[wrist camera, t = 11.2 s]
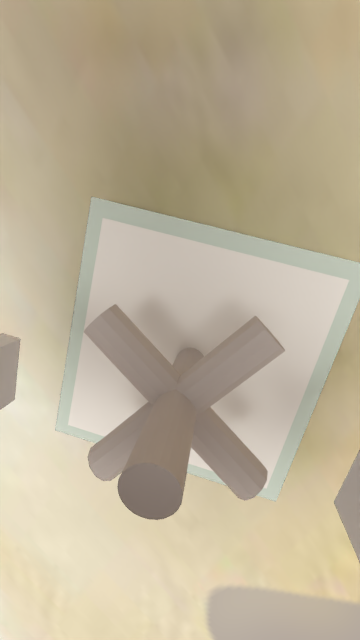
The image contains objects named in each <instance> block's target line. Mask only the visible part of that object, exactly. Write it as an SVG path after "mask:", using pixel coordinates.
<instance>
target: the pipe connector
mask: <svg viewBox="0 0 360 640" xmlns="http://www.w3.org/2000/svg"><path fill="white" fill-rule="evenodd" d="M84 333H85V334H86V335H87V336H88V337H89V338H90V339H91V340H92V342H93V343H94V344H95V345H96V346H97V347H98V348H99V349H100V350H101V351H102V352H103V353H104V354H105V355H106V357H107V358H108V359H109V360H110V361H111V362H112V363H113V364H114V365H115V366H116V367H117V368H118V369H119V370H120V372H121V373H122V374H123V375H124V376H125V377H126V378H127V379H128V380H129V381H130V382H131V383H132V384H133V385H134V387H135V388H136V389H137V390H138V391H139V392H140V393H141V394H142V395H143V396H144V397H145V398H146V399H147V400H148V402H147V403H146V404H145V405H144V406H142V407H141V408H140V409H139V410H137V411H136V412H135V413H134V414H132V415H131V416H130V417H129V418H127V419H126V420H125V421H124V422H122V423H121V424H120V425H119V426H118V427H116V428H115V429H114V430H113V431H111V432H110V433H109V434H108V435H106V436H105V437H104V438H103V439H101V440H100V441H99V442H98V443H96V444H95V445H94V446H93V447H91V448H90V451H89V454H88V461H89V467H90V469H91V470H92V472H93V473H94V475H95V476H96V477H98V478H99V479H101V480H103V481H110V480H112V479H113V478H115V477H116V476H117V475H119V474H120V473H122V474H121V476H120V478H119V481H118V493H119V496H120V498H121V500H122V502H123V503H124V505H125V506H126V507H127V508H128V509H129V510H130V511H132V512H133V513H134V514H136V515H138V516H140V517H143V518H147V519H155V520H158V519H164V518H167V517H169V516H171V515H173V514H174V513H175V512H176V511H177V510H178V508H179V507H180V505H181V502H182V497H183V491H184V485H185V479H186V474H187V468H188V462H189V456H190V450H191V448H192V449H193V450H194V451H195V452H196V453H197V454H198V455H199V456H200V457H201V458H202V459H203V460H204V462H205V463H206V464H207V465H208V466H209V467H210V468H211V469H212V470H213V471H214V472H215V473H216V474H217V475H218V477H219V478H220V479H221V480H222V481H223V482H224V483H225V484H226V485H227V486H228V487H229V488H230V489H231V490H232V492H233V493H234V494H235V495H236V496H237V497H238V498H240V499H242V500H248V499H251V498H254V497H255V496H256V495H257V494H258V493H259V492H260V491H261V490H262V489H263V487H264V485H265V483H266V481H267V473H268V471H267V470H266V468H265V466H264V465H263V464H262V463H261V462H260V461H259V459H258V458H257V457H256V456H255V455H254V454H253V453H252V452H251V451H250V450H249V449H248V447H247V446H246V445H245V444H244V443H243V442H242V441H241V440H240V439H239V438H238V437H237V435H236V434H235V433H234V432H233V431H232V430H231V429H230V428H229V427H228V426H227V425H226V423H225V422H224V421H223V420H222V419H221V418H220V417H219V416H218V415H217V414H216V413H215V411H214V410H213V409H212V408H211V406H212V405H213V404H215V403H216V402H217V401H219V400H220V399H221V398H223V397H224V396H225V395H227V394H228V393H229V392H231V391H232V390H233V389H235V388H236V387H237V386H239V385H240V384H242V383H243V382H244V381H246V380H247V379H248V378H250V377H251V376H252V375H254V374H255V373H256V372H258V371H259V370H260V369H262V368H263V367H264V366H266V365H267V364H268V363H270V362H271V361H273V360H274V359H275V358H277V357H278V356H279V355H281V354H282V353H283V352H285V349H284V348H283V346H282V345H281V344H280V343H279V341H278V340H277V339H276V338H275V336H274V335H273V334H272V333H271V332H270V331H269V329H268V328H267V327H266V326H265V325H264V324H263V323H262V322H261V321H260V319H259V318H258V317H257V316H254V317H253V318H252V319H250V320H249V321H248V322H247V323H245V324H244V325H243V326H242V327H240V328H239V329H238V330H237V331H235V332H234V333H233V334H232V335H230V336H229V337H228V338H227V339H226V340H224V341H223V342H222V343H221V344H219V345H218V346H217V347H216V348H214V349H213V350H212V351H211V352H209V353H208V354H207V355H206V356H203V354H202V353H201V352H200V351H199V350H197V349H195V348H185V349H183V350H181V351H180V352H179V353H178V355H177V357H176V359H175V361H174V363H173V365H171V363H170V362H169V361H168V360H167V359H166V358H165V357H164V356H163V355H162V354H161V353H160V351H159V350H158V349H157V348H156V347H155V346H154V345H153V344H152V343H151V342H150V341H149V339H148V338H147V337H146V336H145V335H144V334H143V333H142V332H141V331H140V330H139V329H138V327H137V326H136V325H135V324H134V323H133V322H132V321H131V320H130V319H129V318H128V317H127V315H126V314H125V313H124V312H123V311H122V310H121V309H120V308H119V307H118V306H117V305H116V304H114V305H113V306H111V307H109V308H108V309H107V310H105V311H104V312H103V313H102V314H100V315H99V316H98V317H97V318H96V319H95V320H94V321H92V322H91V323H90V324H89V325H88V327H87V328H86V329H85V330H84Z"/></svg>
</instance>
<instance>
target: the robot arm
mask: <svg viewBox="0 0 360 640" xmlns="http://www.w3.org/2000/svg"><path fill="white" fill-rule="evenodd" d="M19 348H20V338H17V337H13V336H10V335H7V334H3V333H2V334H0V410H1V409H2V408H4V407H5V406H6V405H8V404H9V403H11V402H12V401H13V400H15V390H16V380H17V369H18V359H19ZM334 504H335V506H336V509H337V511H338V513H339V516H340V518H341V520H342V523H343V525H344V527H345V530H346V532H347V534H348V537H349V539H350V541H351V544H352V546H353V548H354V551H355V553H356V555H357V557H358V560H359V562H360V450H359V452H358V454H357V456H356V458H355V460H354V462H353V464H352V466H351V468H350V470H349V472H348V474H347V476H346V478H345V480H344V482H343V484H342V486H341V488H340V490H339V492H338V494H337V496H336V498H335V500H334Z"/></svg>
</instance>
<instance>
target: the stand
mask: <svg viewBox="0 0 360 640" xmlns="http://www.w3.org/2000/svg"><path fill="white" fill-rule="evenodd" d="M359 299H360V263H359V262H355V261H351V260H346V259H342V258H338V257H334V256H330V255H326V254H322V253H318V252H314V251H310V250H306V249H302V248H298V247H294V246H290V245H286V244H282V243H278V242H274V241H270V240H266V239H261V238H257V237H253V236H249V235H245V234H241V233H237V232H233V231H229V230H225V229H221V228H217V227H213V226H209V225H205V224H201V223H197V222H193V221H189V220H185V219H181V218H176V217H172V216H168V215H164V214H160V213H156V212H152V211H148V210H144V209H140V208H136V207H132V206H128V205H124V204H120V203H116V202H112V201H108V200H104V199H100V198H95V197H91V203H90V210H89V216H88V222H87V229H86V235H85V242H84V248H83V255H82V261H81V267H80V274H79V280H78V287H77V293H76V300H75V306H74V312H73V319H72V325H71V332H70V338H69V344H68V351H67V357H66V364H65V370H64V377H63V383H62V389H61V396H60V402H59V409H58V415H57V422H56V428H55V430H56V431H59V432H62V433H65V434H69V435H72V436H75V437H78V438H81V439H84V440H87V441H90V442H93V443H98V442H99V441H100V440H101V439H103V438H104V437H105V436H106V435H108V434H109V433H110V432H111V431H113V430H114V429H115V428H116V427H118V426H119V425H120V424H121V423H122V422H124V421H125V420H126V419H127V418H129V417H130V416H131V415H132V414H134V413H135V412H136V411H137V410H139V409H140V408H141V407H142V406H144V405H145V404H146V403H147V402H148V400H147V399H146V398H145V397H144V396H143V395H142V394H141V393H140V392H139V391H138V390H137V389H136V388H135V387H134V385H133V384H132V383H131V382H130V381H129V380H128V379H127V378H126V377H125V376H124V375H123V374H122V373H121V372H120V370H119V369H118V368H117V367H116V366H115V365H114V364H113V363H112V362H111V361H110V360H109V359H108V358H107V357H106V355H105V354H104V353H103V352H102V351H101V350H100V349H99V348H98V347H97V346H96V345H95V344H94V343H93V342H92V340H91V339H90V338H89V337H88V336H87V335H86V334H85V333H84V330H85V329H86V328H87V327H88V325H89V324H90V323H91V322H92V321H94V320H95V319H96V318H97V317H98V316H99V315H100V314H102V313H103V312H104V311H105V310H107V309H108V308H109V307H111V306H113V305H114V304H116V305H117V306H118V307H119V308H120V309H121V310H122V311H123V312H124V313H125V314H126V315H127V317H128V318H129V319H130V320H131V321H132V322H133V323H134V324H135V325H136V326H137V327H138V329H139V330H140V331H141V332H142V333H143V334H144V335H145V336H146V337H147V338H148V339H149V341H150V342H151V343H152V344H153V345H154V346H155V347H156V348H157V349H158V350H159V351H160V353H161V354H162V355H163V356H164V357H165V358H166V359H167V360H168V361H169V362H170V363H171V365H173V363H174V361H175V359H176V357H177V355H178V353H179V352H180V351H181V350H183V349H185V348H195V349H197V350H199V351H200V352H201V353H202V354H203V356H206V355H207V354H208V353H209V352H211V351H212V350H213V349H214V348H216V347H217V346H218V345H219V344H221V343H222V342H223V341H224V340H226V339H227V338H228V337H229V336H230V335H232V334H233V333H234V332H235V331H237V330H238V329H239V328H240V327H242V326H243V325H244V324H245V323H247V322H248V321H249V320H250V319H252V318H253V317H254V316H257V317H258V318H259V319H260V321H261V322H262V323H263V324H264V325H265V326H266V327H267V328H268V329H269V331H270V332H271V333H272V334H273V335H274V336H275V338H276V339H277V340H278V341H279V343H280V344H281V345H282V346H283V348H284V349H285V352H283V353H282V354H281V355H279V356H278V357H277V358H275V359H274V360H273V361H271V362H270V363H268V364H267V365H266V366H264V367H263V368H262V369H260V370H259V371H258V372H256V373H255V374H254V375H252V376H251V377H250V378H248V379H247V380H246V381H244V382H243V383H242V384H240V385H239V386H237V387H236V388H235V389H233V390H232V391H231V392H229V393H228V394H227V395H225V396H224V397H223V398H221V399H220V400H219V401H217V402H216V403H215V404H213V405H212V406H211V408H212V409H213V410H214V411H215V413H216V414H217V415H218V416H219V417H220V418H221V419H222V420H223V421H224V422H225V423H226V425H227V426H228V427H229V428H230V429H231V430H232V431H233V432H234V433H235V434H236V435H237V437H238V438H239V439H240V440H241V441H242V442H243V443H244V444H245V445H246V446H247V447H248V449H249V450H250V451H251V452H252V453H253V454H254V455H255V456H256V457H257V458H258V459H259V461H260V462H261V463H262V464H263V465H264V466H265V468H266V470H267V471H268V473H267V481H266V483H265V485H264V487H263V489H262V490H261V491H260V492H259V493H258V494H257V496H260V497H263V498H266V499H269V500H272V501H275V502H276V500H277V498H278V495H279V493H280V490H281V488H282V486H283V483H284V481H285V478H286V476H287V473H288V471H289V469H290V466H291V464H292V461H293V459H294V457H295V454H296V452H297V449H298V447H299V444H300V442H301V440H302V437H303V435H304V432H305V430H306V427H307V425H308V423H309V420H310V418H311V415H312V413H313V411H314V408H315V406H316V403H317V401H318V398H319V396H320V394H321V391H322V389H323V386H324V384H325V382H326V379H327V377H328V374H329V372H330V369H331V367H332V365H333V362H334V360H335V357H336V355H337V352H338V350H339V348H340V345H341V343H342V340H343V338H344V336H345V333H346V331H347V328H348V326H349V323H350V321H351V319H352V316H353V314H354V311H355V309H356V306H357V304H358V302H359ZM187 473H189V474H192V475H195V476H198V477H201V478H204V479H207V480H211V481H214V482H217V483H220V484H223V485H226V484H225V483H224V482H223V481H222V480H221V479H220V478H219V477H218V475H217V474H216V473H215V472H214V471H213V470H212V469H211V468H210V467H209V466H208V465H207V464H206V463H205V462H204V460H203V459H202V458H201V457H200V456H199V455H198V454H197V453H196V452H195V451H194V450H193V449H192V448H191V450H190V456H189V462H188V468H187ZM226 486H227V485H226Z"/></svg>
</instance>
